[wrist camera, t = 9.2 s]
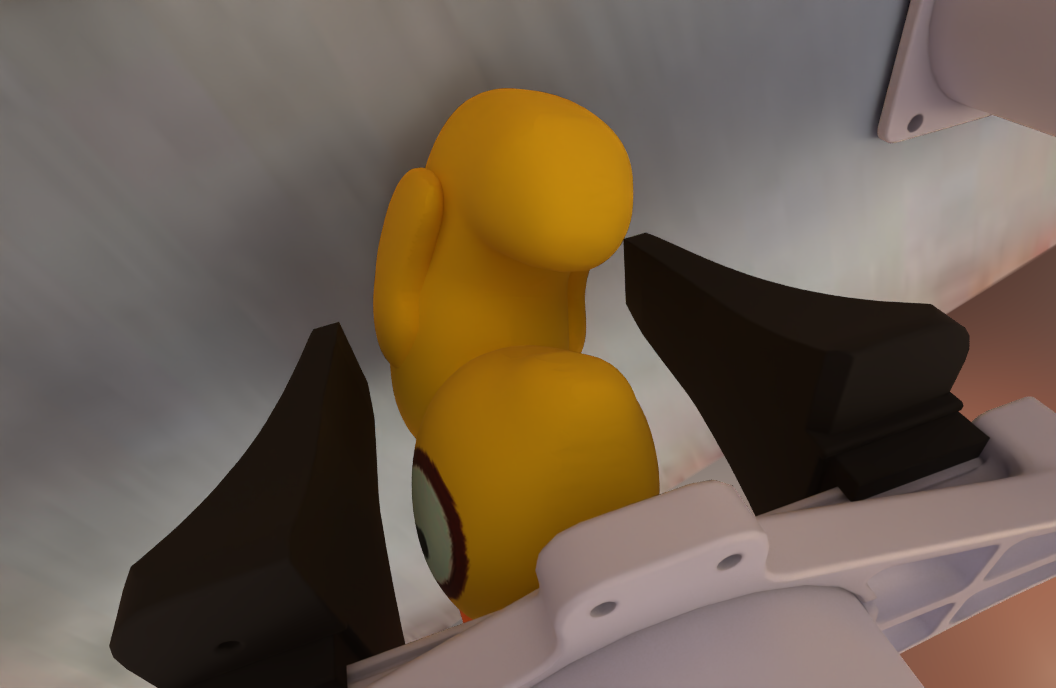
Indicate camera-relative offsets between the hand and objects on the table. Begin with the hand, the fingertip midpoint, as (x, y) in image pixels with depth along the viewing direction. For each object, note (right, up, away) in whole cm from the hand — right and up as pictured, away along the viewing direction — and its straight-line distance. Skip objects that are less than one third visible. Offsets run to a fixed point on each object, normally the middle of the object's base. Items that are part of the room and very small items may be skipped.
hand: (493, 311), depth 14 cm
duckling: (-1, +2, +2) cm, 3 cm away
